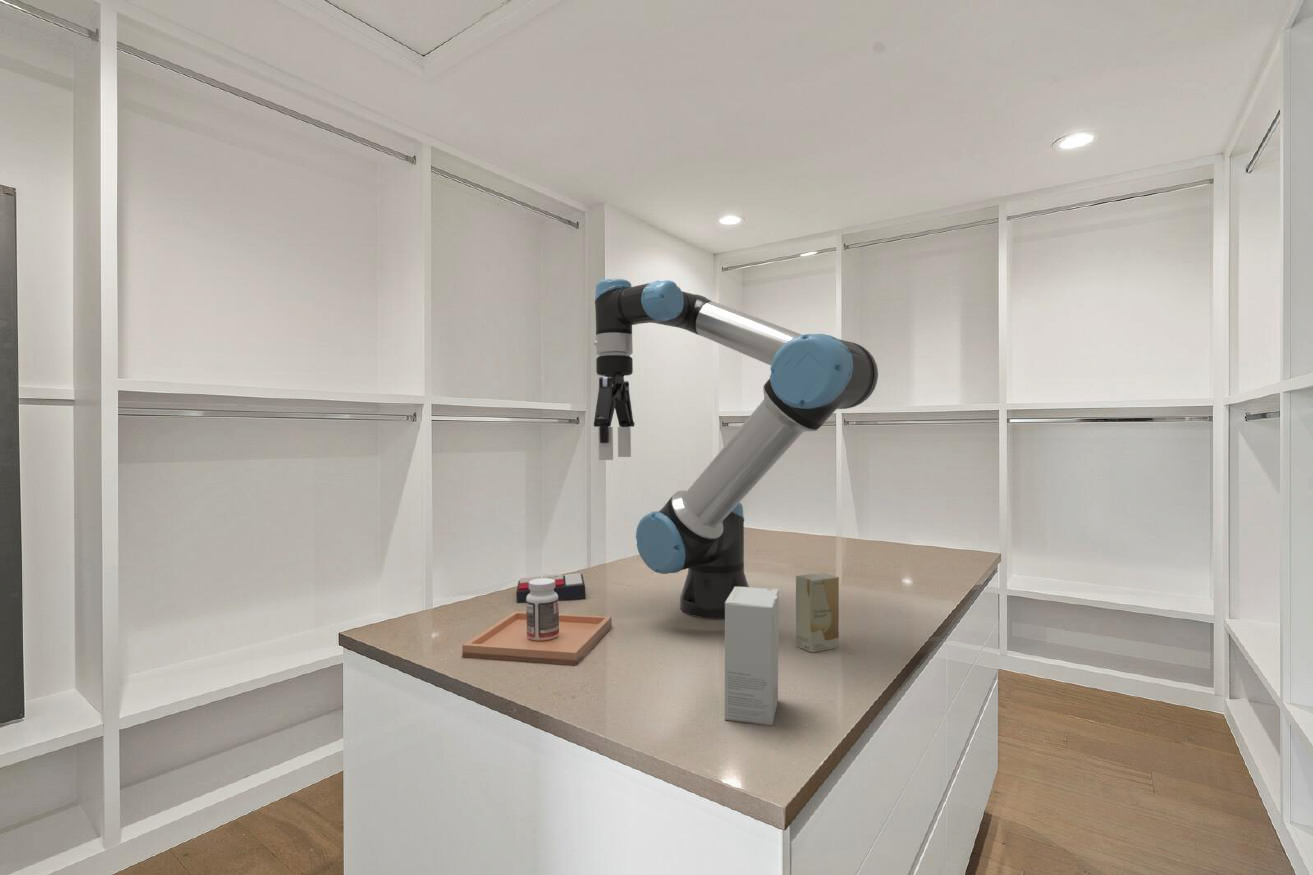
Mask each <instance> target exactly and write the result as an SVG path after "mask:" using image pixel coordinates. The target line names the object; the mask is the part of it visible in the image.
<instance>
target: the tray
mask: <svg viewBox="0 0 1313 875" xmlns="http://www.w3.org/2000/svg"><path fill="white" fill-rule="evenodd" d="M612 625H613V620H612V616H605V615H604V616H602V615H588V614H587V615H586V614H568V613H559V634H558V636H557V637H556V638H554V639H550V640H545V641H535V640H531V639H529V638H528V637H527V619H526V611H517V610H516V611H515V610H514V611H513V612H511V613H510V614H509V615H506V616H505V617H503V618H502V619H501V620H499V621H497V622H496V623H495V624H493V625H491V626H490V627H488V628H487V629H485V630H484V631H482V632H480V633H478V634H477V635H476V636H474V637H472V638H471V639H469V640H467V641H466V642H464V643H463V644H461V645H462V651H461V652H462V653H461V655H462V658H470V659H483V660H484V659H485V660H486V659H487V660H498V661H510V662H513V661H514V662H528V663H537V664H538V663H541V664H553V665H565V666H566V665H567V666H577V664H579V662H580V661H581V660H583V658H584V657H585V656H586V655H587V654H588V653H589V652H590V651H591V650H592V649H593V648H594V647H595V646H596V644H597V643H599V641H600V640H601V639H602V638H603V637H604V636H605V635H606V634H607V633H608V632H609V631H610V630H611V629H612V627H613V626H612Z"/></svg>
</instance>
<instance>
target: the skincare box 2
mask: <svg viewBox="0 0 1313 875" xmlns="http://www.w3.org/2000/svg"><path fill="white" fill-rule="evenodd" d="M839 584H840V577H839V576H835V575H832V574H829V573H826V572H818V573H817V572H816V573H807V574H801V575H799V574H798V575H796V576H795V646H797V647H799V648H801V649H803V650H806V651H808V652H809V653H815V652H820V651H826V650H827V651H828V650H830V649H831V650H833V649H838V648H839V641H840V640H839V638H840V637H839V634H840V633H839V624H840V623H839V613H840V610H839V608H840V607H839V605H840V604H839V602H840V599H839V598H840V597H839V594H840V593H839V591H840V588H839V586H840V585H839Z"/></svg>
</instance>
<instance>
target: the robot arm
mask: <svg viewBox="0 0 1313 875" xmlns="http://www.w3.org/2000/svg"><path fill="white" fill-rule="evenodd" d="M594 305H595V335H596V337H595V339H596V340H594V341H593V345H594V346H595V348H596V349H595V350H596V354H597V355H598V356H597V358H596V360H595V361H596V363H595V364H596V368H595V369H596V375H598V376H600V377H599V378H598V391H597V392H598V393H597V400H596V405H595V413H594V419H593V427H595V428H598V460H599V461H613V460H614V430H613V428H614V426H611V425H612V422H613V417H614V413H616V417H617V422H618V427H617V457H618V458H631V457H632V447H631V446H632V444H631V443H632V442H631V440H632V438H631V437H632V436H631V435H632V434H631V433H632V432H631V427H632V428H633V427H635V422H634V417H633V410H632V401H631V396H630V383H629V381H627V380H625V376H631V375H632V374H633V372H634V371H633V370H634V368H633V360H634V358H632V356H631V355H633V350H634V349H633V325H642V324H650V323H653V324H656V325H657V324H658V325H664V326H666V327H667V326H668V327H675V328H678V329H683V330H686V331H687V332H690V333H693V334H694V335H698V336H700V337H703V338H705V339H708V340H711V341H713V342H714V343H717V344H720V345H722V346H724V347H726V348H729V349H731V350H734V351H736V352H739V353H741V354H743V355H746V356H748V357H750V358H752V359H754V360H757V361H759V362H762V363H764V364H766V365H769V366H770V368H769V369H770V371H771V372H770V375H769V379H767V381H766V382H765V383H764V384H763V386H762V388H763V390H762V391H763V400H761V402H760V404H759V405H758V406H757V407H756V408H755V410H753V412H752V413H751V414H750V415H749V417H748V418H747V419H746V420H745V421H744V423H743V424H742V425H741V426H740V428H738V429H737V431H736V432H735V433H734V435H732V436H731V438H730V440H728V441H727V443H726V444H725V445H724V447H723V448H722V449H721V450H720V451H719V452H718V453H717V455H716V456H715V457H714V459H712V460H711V461H710V463H709V465H708V466H706V468H705V469H704V470H703V471H702V473H701V474H700V475H699V476H698V477H697V479H696V480H695V481H694V482H693V483H692V484H691V486H690V487H689V488H688V489H687V490H678V491H676V492H675V493H674V494H673V495H672V496H671V497H670V498H669V499H668V501H667V502H666V503H665V504H664V505H663V507H662V508H660V509H659V510H658V511H651V512H649V513H647V514H645V515H644V516H643V517H642V518H640V520H639V522H638V524H637V526H636V531H635V540H636V549H637V551H638V554H639V556H640V558H641V560H642V561H643V562H644V564H645V565H646V566H647V567H648V568H649V569H650V570H651V571H653V572H655V573H658V574H661V575H668V574H677V573H679V572H681V571H683V570H686V569H687V570H688V571H687V574H686V578H685V581H684V584H683V588H682V592H681V594H680V597H679V598H680V599H679V602H680V603H679V605H680V606H679V607H680V611H681V612H683V613H685V614H686V615H689V616H693V617H698V618H706V619H725V602H726V600H727V598H728V597H729V595H730V594H731V592H732V590H733V589H734V587H749V583H748V580H747V577H746V573H745V562H744V561H745V556H744V555H745V553H744V551H745V546H744V545H745V541H744V540H745V538H744V537H745V530H744V529H745V525H744V522H745V516H744V507H743V504H742V503H741V502H742V500H743V499H744V498H745V497H746V496H747V495H748V494H749V492H750V491H752V489H753V488H754V487H755V486H756V484H757V483H759V482H760V480H762V478H763V477H764V476H765V475H766V474H767V473H768V472H769V471H770V469H771V468H772V467H774V465H775V464H776V463H777V461H779V460H780V458H781V457H782V456H783V455H784V454H785V453H786V452H787V450H789V448H790V447H791V446H793V444H794V443H795V442H796V441H797V439H798V438H800V436H801V435H802V434H803V433H804V432H816V431H818V430H819V429H820V428H821V427H822V426H823V425H824V424H825V422H826V421H827V420H828V419H829V418H831V416H832V415H833V414H834V412H836V411H837V410H847V409H851V408H855V407H857V406H859V405H862V404H863V403H864V402H866V401H867V400H868V399H869V398H870V397H871V396H872V394H873V393H874V391H875V389H876V386H877V383H878V379H879V369H878V364H877V362H876V359H875V358H874V356H873V355H872V354H871V352H870V351H869V350H867V348H865V346H862V345H860V344H858V343H855V342H852V341H848V340H843V339H840V338H837V337H835V336H834V335H833V336H832V335H829V334H823V333H808V334H802V333H799V332H797V331H794V330H791V329H788V328H786V327H783V326H780V325H777V324H775V323H772V322H770V321H766V320H765V319H761V318H759V317H757V316H754V315H750V314H747V313H745V312H743V311H740V310H737V309H735V308H732V307H729V306H727V305H723V304H721V303H719V302H716V301H712V300H710V299H709V298H707V297H705V296H703V295H700V294H696V293H695V294H694V293H689V292H686V291H684V290H683V291H682V289H681V288H680V286H678V285H677V283H676V282H675V281H674V280H673V281H672V280H668V279H667V280H666V279H665V280H654V281H651V282H648V283H644V284H639V285H633V286H632V282H630V281H629V280H627V279H625V278H605V279H602V280H599V281H598V282H597V283H596V286H595V298H594Z"/></svg>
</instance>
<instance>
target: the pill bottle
mask: <svg viewBox="0 0 1313 875" xmlns="http://www.w3.org/2000/svg"><path fill="white" fill-rule="evenodd" d="M554 588H555V580H554V579H549V578H543V577H541V578H540V579H534V580H531V581H529V589H530V593H529V594H528V595H527V597H526V603H525V604H526V605H525V608H526V611H525V612H526V619H527V637H528V638H529V639H531V640H535V641H545V640H550V639H554V638H556V637H557V636H558V634H559V614H560V610H559V609H560V608H559V606H560V604H559V601H558V594H557V593H556V592H554Z"/></svg>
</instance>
